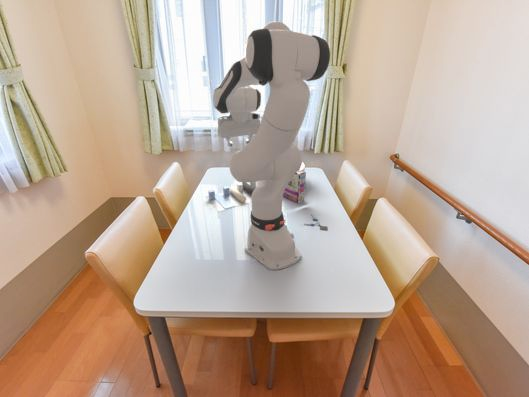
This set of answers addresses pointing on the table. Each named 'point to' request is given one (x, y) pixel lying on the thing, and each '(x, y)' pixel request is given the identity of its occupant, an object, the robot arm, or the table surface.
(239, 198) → the rod
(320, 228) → the key chain
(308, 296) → the table surface
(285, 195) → the candy bar box
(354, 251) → the table surface
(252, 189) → the dark gray rod
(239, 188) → the rod display rack
